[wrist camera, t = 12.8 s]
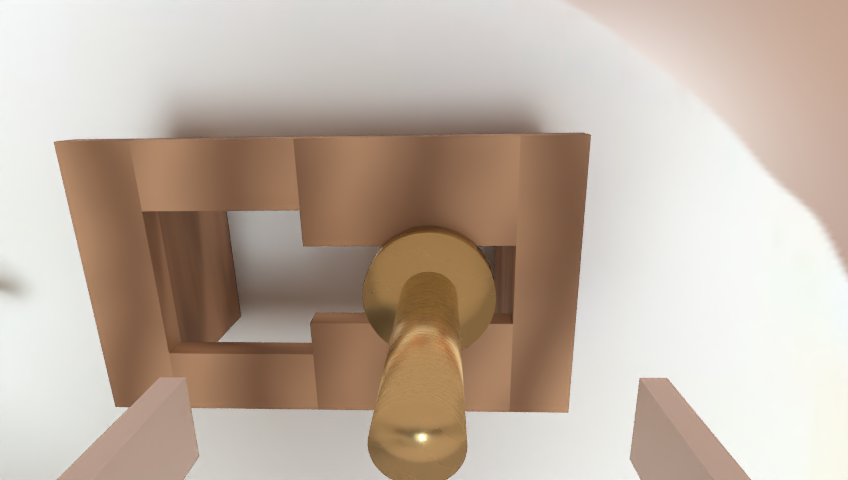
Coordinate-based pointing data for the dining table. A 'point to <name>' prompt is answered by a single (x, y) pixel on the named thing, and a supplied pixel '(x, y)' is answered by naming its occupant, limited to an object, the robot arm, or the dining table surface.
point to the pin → (425, 347)
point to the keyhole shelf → (324, 226)
